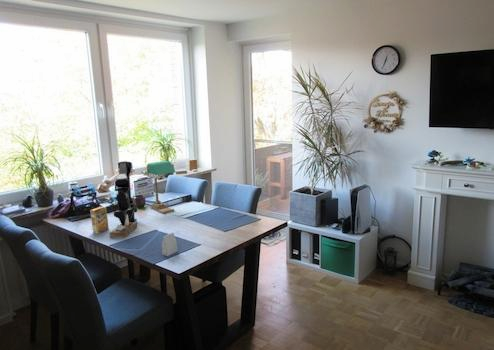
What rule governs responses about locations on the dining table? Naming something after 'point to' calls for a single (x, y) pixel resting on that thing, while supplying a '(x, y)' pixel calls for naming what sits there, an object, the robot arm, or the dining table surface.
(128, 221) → the cream dowel
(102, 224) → the candy box
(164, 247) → the tea bag
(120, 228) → the grey metal stub
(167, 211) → the banker's lamp
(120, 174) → the robot arm
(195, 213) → the dining table surface
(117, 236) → the walnut socket block
